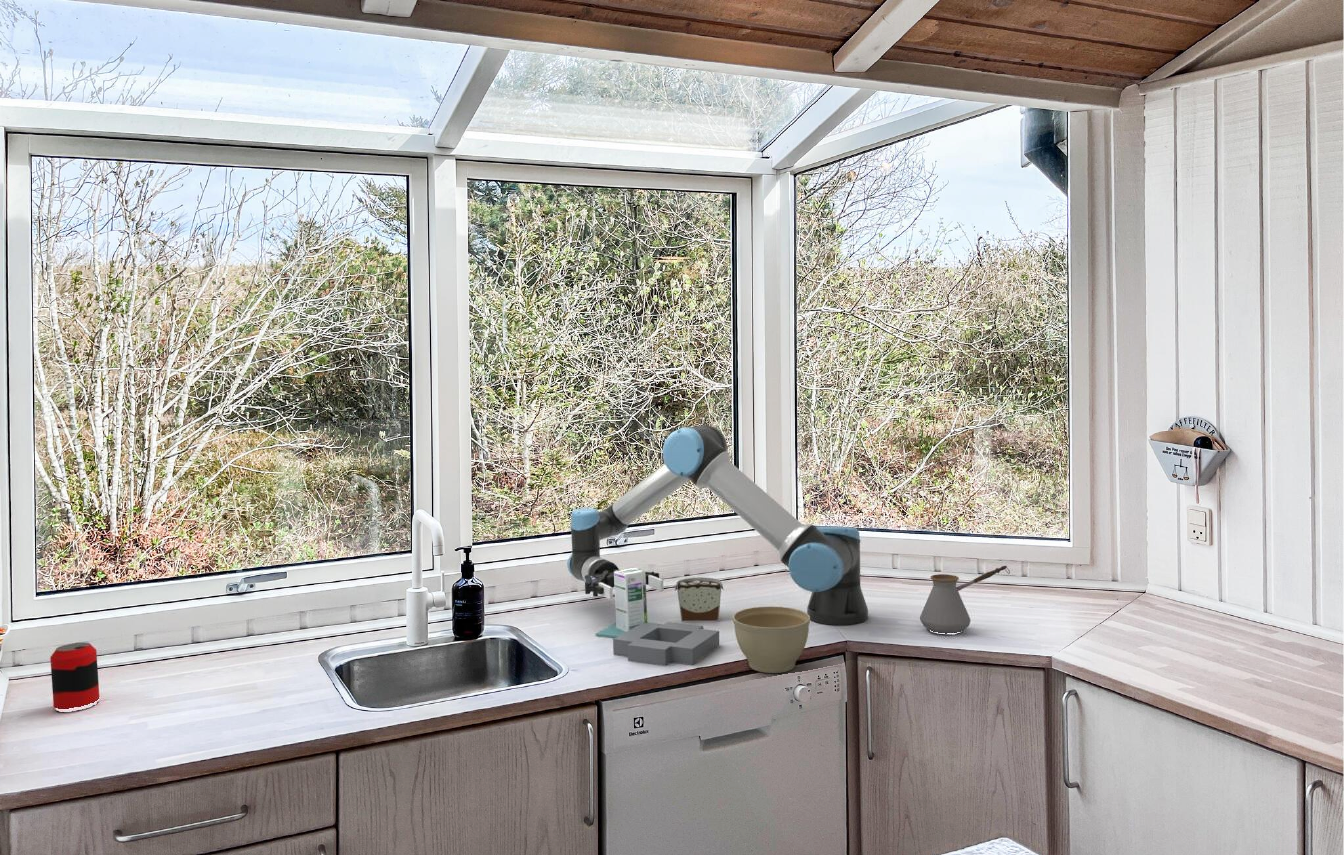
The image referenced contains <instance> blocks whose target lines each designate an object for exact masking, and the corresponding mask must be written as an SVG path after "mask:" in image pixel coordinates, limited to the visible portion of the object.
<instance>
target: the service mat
mask: <svg viewBox="0 0 1344 855" xmlns="http://www.w3.org/2000/svg"><path fill="white" fill-rule="evenodd" d="M647 623H649V622H648V621H647ZM651 623H652V624H658V623H657V622H651ZM660 624H661V625H663V624H664V623H660ZM623 633H625V632H623V631H621V630H619V629H617V628H616V622H615V623H614V624H611V625H609V626H607V627H605V628H604V629H602V630H600V631H597V632H596V633H595V637H600V638H601V637H602V638H611V639H614V638H616V637H618V636H620V635H622V634H623Z"/></svg>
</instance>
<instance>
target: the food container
mask: <svg viewBox="0 0 1344 855" xmlns="http://www.w3.org/2000/svg"><path fill="white" fill-rule="evenodd" d="M724 590H725V589H724V586H723V583H722V581H721V580H720V579H718V578H713V577H705V576H704V577H688V578H683V579H679V580H677V582H676V584H675V587H674V591H677V596H678V597H677V598H678V606H679V612H680V613H679V614H680V619H681V622H686V623H691V622H692V623H695V622H696V623H697V622H698V623H699V622H701V623H702V622H705V623H709V622H713V623H714V622H715V623H717V622H720V608H721V598H722V597H721V596H722V591H724Z"/></svg>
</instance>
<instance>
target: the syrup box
mask: <svg viewBox="0 0 1344 855" xmlns="http://www.w3.org/2000/svg"><path fill="white" fill-rule="evenodd" d="M645 572H646V571H645V570H644V569H641V568H638V567H632V568H626V569H621V570H620V569H619V571H615V572H614V585H615V586H614V603H615V623H616V628H617V629H619V630H621V631H623V632H627V631H629V630H631V629H633V628H634V627H636V626H638V625H640V624H642V623H647V622H648V606H647V605H648V603H647V602H648V601H647V585H646V576H645Z"/></svg>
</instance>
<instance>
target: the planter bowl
mask: <svg viewBox="0 0 1344 855" xmlns="http://www.w3.org/2000/svg"><path fill="white" fill-rule="evenodd" d="M732 621H733V624H734V634H735V638H736V641H737V644H738V647H739V648H740V651H741V652H742V654H743V655H744V657H745V658H746V659H747V661H748V664H749V667H750V669H752V670H754V671H756V672H760V673H765V674H766V673H768V674H778V673H779V674H780V673H786V672H789V671H792V670H793V669H794V668H795V666H796V662H797V660H798V659H799V657H800V656H801V655H802V653H803V652H804V649H805V647H806V644H807V641H808V637H809V631H810V630H809V629H810V622H811V620H810V616H809V615H808V614H807V612H806V611H803V610H800V609H797V608H791V607H787V606H786V607H784V606H771V605H770V606H757V607H755V606H754V607H749V608H743V609H741V610H738V611H736V612H735V613H734V614H733V615H732Z"/></svg>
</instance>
